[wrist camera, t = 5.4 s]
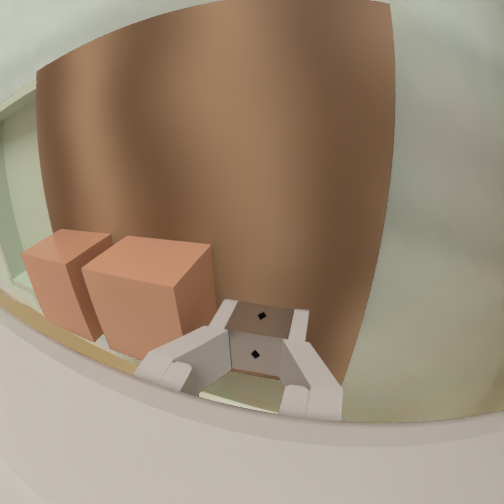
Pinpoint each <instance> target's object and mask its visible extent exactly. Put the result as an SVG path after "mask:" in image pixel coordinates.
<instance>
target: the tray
mask: <svg viewBox="0 0 504 504" xmlns="http://www.w3.org/2000/svg"><path fill="white" fill-rule="evenodd" d="M51 234H53V232H52V227H51V223H50V219H49V214H48V209H47V204H46V199H45V194H44V188H43V182H42V175H41V168H40V159H39V150H38V138H37V122H36V80H35V81H33V82H31V83H30V84H28V85H27V86H25V87H24V88H22V89H21V90H19V91H18V92H16V93H15V94H14V95H12V96H11V97H9V98H8V99H7V100H5V101H4V102H3V103H1V104H0V251H1V254H2V257H3V260H4V263H5V266H6V269H7V272H8V274H9V277H10V280H11V282H12V284H13V285H15V286H17V287H20V288H22V289H24V290H26V291H28V292H30V293H33V294H35V292H34V290H33V287H32V284H31V282H30V279H29V276H28V273H27V271H26V268H25V265H24V262H23V259H22V256H21V253H22V252H23V251H25V250H26V249H28V248H30V247H31V246H33V245H34V244H36V243H38V242H39V241H41V240H43V239H44V238H46V237H48V236H50V235H51Z"/></svg>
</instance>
